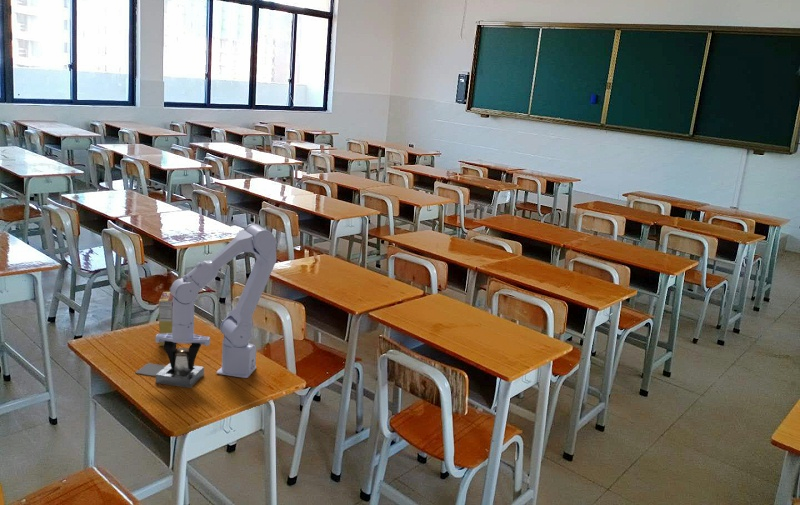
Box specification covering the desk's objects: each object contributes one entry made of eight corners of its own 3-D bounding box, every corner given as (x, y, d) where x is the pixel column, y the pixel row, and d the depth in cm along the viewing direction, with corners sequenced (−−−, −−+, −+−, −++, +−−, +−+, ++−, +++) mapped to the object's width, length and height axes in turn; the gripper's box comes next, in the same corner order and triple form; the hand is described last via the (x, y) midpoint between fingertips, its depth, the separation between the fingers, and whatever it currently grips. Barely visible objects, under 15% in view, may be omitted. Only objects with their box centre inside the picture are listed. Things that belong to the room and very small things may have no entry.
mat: (170, 367, 192) (170, 366, 192) (158, 377, 185) (158, 376, 185) (147, 363, 193) (147, 362, 193) (135, 373, 186) (135, 372, 186)
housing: (203, 374, 189) (204, 366, 189) (189, 388, 181) (190, 379, 180) (171, 369, 191) (171, 361, 190) (155, 382, 182) (155, 374, 181)
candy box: (162, 335, 214) (162, 291, 211) (176, 335, 215) (177, 291, 212) (158, 346, 206) (158, 300, 202) (172, 346, 207) (173, 300, 203)
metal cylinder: (193, 374, 187) (193, 348, 185) (186, 381, 183) (186, 354, 181) (178, 372, 188) (178, 346, 186) (171, 379, 184) (171, 352, 182)
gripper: (213, 318, 186) (211, 362, 189) (160, 315, 185) (160, 359, 188) (207, 327, 179) (206, 373, 182) (153, 323, 178) (152, 369, 181)
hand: (182, 367), depth 185 cm, fingers closed on metal cylinder, 4 cm apart
